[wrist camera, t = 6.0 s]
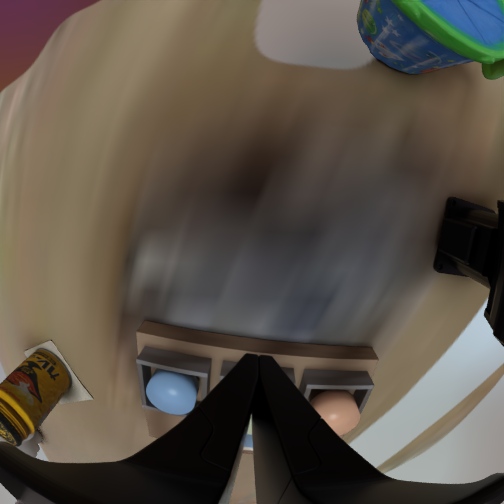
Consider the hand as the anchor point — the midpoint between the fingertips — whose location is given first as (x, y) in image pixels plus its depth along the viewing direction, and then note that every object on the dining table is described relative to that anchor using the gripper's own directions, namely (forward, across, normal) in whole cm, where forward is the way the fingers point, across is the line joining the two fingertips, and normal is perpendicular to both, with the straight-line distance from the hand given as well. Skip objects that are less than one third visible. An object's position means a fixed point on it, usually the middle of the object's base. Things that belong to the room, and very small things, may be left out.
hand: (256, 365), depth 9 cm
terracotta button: (+9, -7, +11) cm, 16 cm away
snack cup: (+13, -9, -20) cm, 26 cm away
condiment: (+13, +22, +18) cm, 31 cm away
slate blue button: (+10, +5, +11) cm, 16 cm away
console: (+13, -1, +14) cm, 19 cm away
